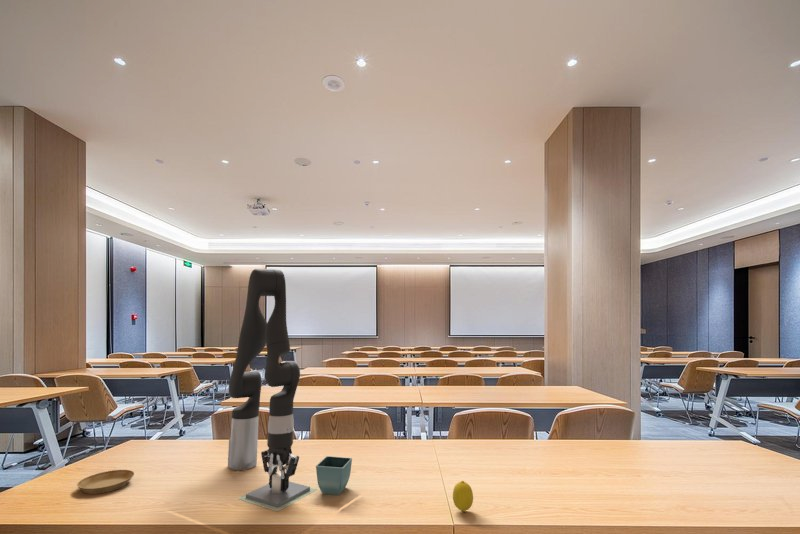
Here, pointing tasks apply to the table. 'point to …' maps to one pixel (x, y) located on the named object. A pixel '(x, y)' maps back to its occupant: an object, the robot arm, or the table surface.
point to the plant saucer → (105, 481)
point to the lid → (277, 492)
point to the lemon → (462, 496)
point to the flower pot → (333, 474)
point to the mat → (276, 507)
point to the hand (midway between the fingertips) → (278, 488)
